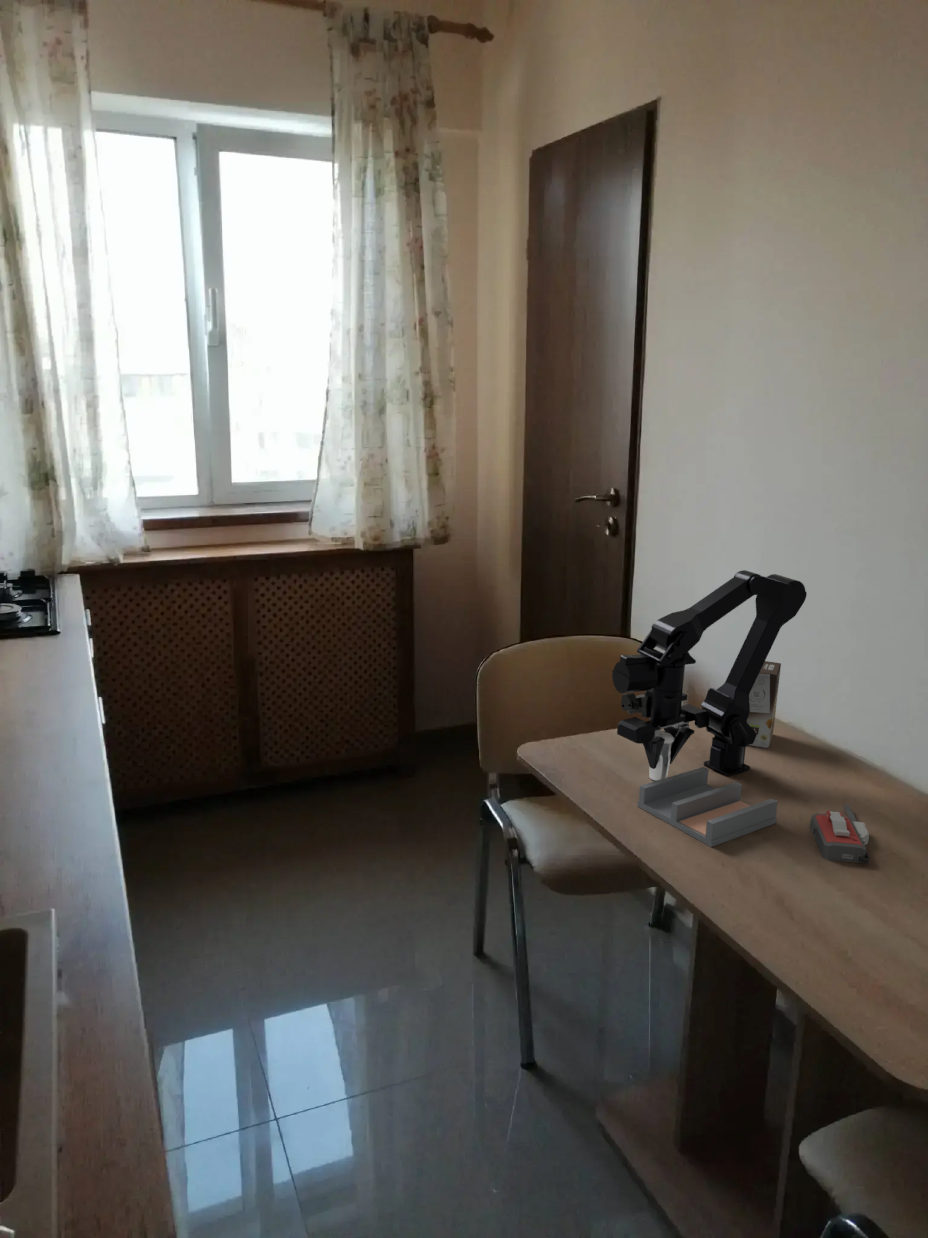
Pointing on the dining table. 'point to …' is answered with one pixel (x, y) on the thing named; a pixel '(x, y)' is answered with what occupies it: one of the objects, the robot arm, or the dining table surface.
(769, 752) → the dining table surface
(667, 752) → the milkshake
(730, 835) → the grey slotted tray
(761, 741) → the coffee box
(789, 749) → the dining table surface
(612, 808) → the dining table surface
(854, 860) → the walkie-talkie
